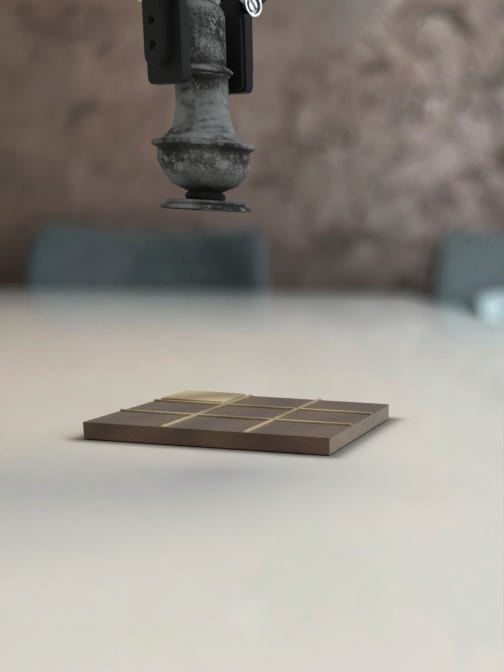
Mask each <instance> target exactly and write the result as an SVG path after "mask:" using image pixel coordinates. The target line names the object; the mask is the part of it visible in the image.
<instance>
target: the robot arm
mask: <svg viewBox="0 0 504 672" xmlns="http://www.w3.org/2000/svg"><path fill="white" fill-rule="evenodd" d="M136 1H137V2H138V3H141V16H142V34H143V35H142V36H143V37H142V38H143V54H144V60H145V62H146V68H147V70H146V71H147V80H148V82H149V84H150V85H156V86H169V85H175V84H181V83H187V82H188V81H190V79H191V52H190V26H189V8H188V6H187V0H136ZM266 1H267V0H214V2H215V3H217V4H218V5H219V6H220V8H221V9H222V11H223V12H224V16H225V37H226V68H228V69H229V70H230V71H232V72H233V76H232V77H230V78H229V79H228V95H229V96H234V95H249V94H251V93H252V92H253V89H254V42H253V40H254V38H253V36H254V35H253V18H256V17H257V18H258V17H259V16H260V15H261V14H262V11H263V5H264V3H265V2H266Z"/></svg>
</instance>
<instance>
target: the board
mask: <svg viewBox="0 0 504 672" xmlns="http://www.w3.org/2000/svg"><path fill="white" fill-rule="evenodd" d="M389 417H390V404H388V403H376V402H359V401H345V400H344V401H343V400H342V401H341V400H328V399H327V400H326V399H322V398H316V399H311V398H310V399H309V398H295V397H277V396H276V397H275V396H261V395H260V396H259V395H253V394H247V395H246V393H242V392H241V393H239V392H223V391H208V390H207V391H205V390H188V389H186V390H183V391H178V392H176V393H173V394H168V395H165V396H162V397H160V398H154V399H153V400H152V401H149V402H145V403H143V404H139V405H136V406H132V407H129V408H120V409H119V411H116V412H112V413H109V414H105V415H102V416H98V417H95V418H91V419H88V420H85V421H83V422H82V429H83V439H85V440H98V441H112V442H126V443H140V444H141V443H143V444H157V445H172V446H188V447H199V448H200V447H201V448H215V449H216V448H217V449H230V450H246V451H247V450H248V451H258V452H259V451H260V452H261V451H263V452H275V453H276V452H277V453H292V454H307V455H322V456H331V455H332V454H334V453H335V452H337V451H338V450H340V449H342V448H343V447H345V446H346V445H348V444H350V443H352V442H353V441H354V440H356V439H358V438H359V437H361V436H362V435H364V434H366V433H367V432H369V431H370V430H372V429H374V428H376V427H377V426H379V425H380V424H382V423H384V422H385V421H387V420H388V419H389Z"/></svg>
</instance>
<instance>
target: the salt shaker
mask: <svg viewBox="0 0 504 672" xmlns="http://www.w3.org/2000/svg"><path fill="white" fill-rule="evenodd" d="M187 6H188V8H189V26H190V52H191V79H190V81H188V82H187V83H181V84H174V102H175V103H174V104H175V108H174V115H173V119H172V124H171V128H170V129H168V131H167V132H166V133H165V134H164V135H161V137H156V138H152V139H151V140H150V143H151V145H152V146H154V147H155V148H156V153H157V155H156V156H157V157H156V158H157V161H158V164H159V167H160V169H161V171H162V174H163V175H164V176H165V177H166V178H167V179H168V180H169V181H170V183H171V184H172V185H175V186H177V187H179V188H181V189H183V190H186V191H187V192H186V191H185V193H184V197H185V198H173V197H171V198H169V197H168V198H167V199H165V201H164V202H165V203H160V204H159V208H160V209H168V210H169V209H171V210H184V211H185V210H186V211H202V212H204V211H205V212H222V213H223V212H224V213H252V212H253V211H252V208H250V207H246V204H245V203H244V202H242V201H231V200H230V201H229V200H226V199H227V197H226V195H225V194H224V193H225V192H228V191H230V190H233V189H236V188H239V186H240V185H241V184H242V183H243V182H244V181H245V180H246V178H247V175H248V172H249V169H250V167H251V153H252V152H255V151H256V146H254V145H253V144H250V143H246V142H245V141H244V140H243V139H241V138H240V136H239V135H238V134H237V133H236V132H235V129H234V126H233V123H232V118H231V114H230V102H229V101H230V99H229V96H230V95H228V79H229V78H230V77H232V76H233V72H232V71H230V70H229V69H228V68H226V37H225V16H224V12H223V11H222V9H221V8H220V6H219V5H218V4H217V3H215V0H187Z"/></svg>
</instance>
